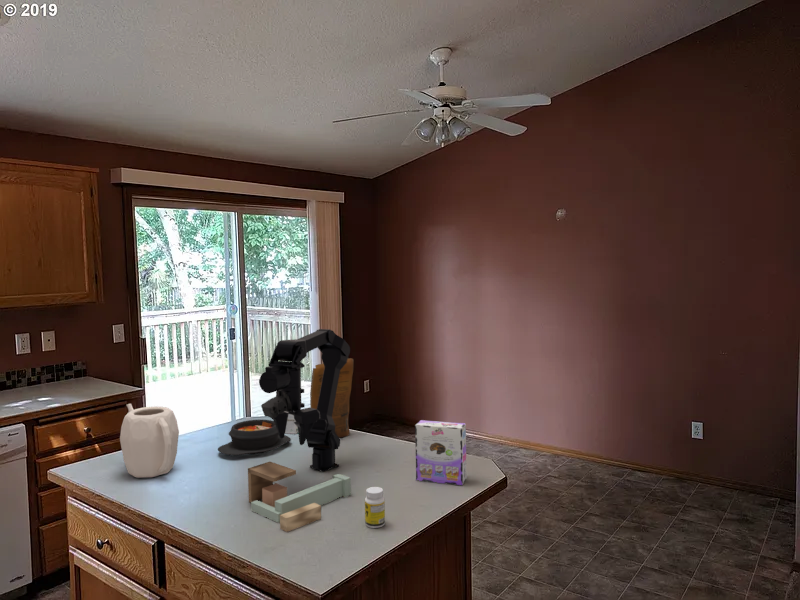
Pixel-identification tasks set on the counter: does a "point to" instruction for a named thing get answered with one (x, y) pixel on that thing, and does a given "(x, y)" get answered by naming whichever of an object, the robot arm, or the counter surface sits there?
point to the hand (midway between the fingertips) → (291, 441)
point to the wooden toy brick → (300, 517)
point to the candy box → (440, 452)
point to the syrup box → (291, 425)
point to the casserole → (253, 438)
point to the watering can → (149, 441)
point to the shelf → (265, 477)
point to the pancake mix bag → (341, 396)
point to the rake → (306, 497)
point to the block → (273, 494)
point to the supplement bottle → (374, 507)
